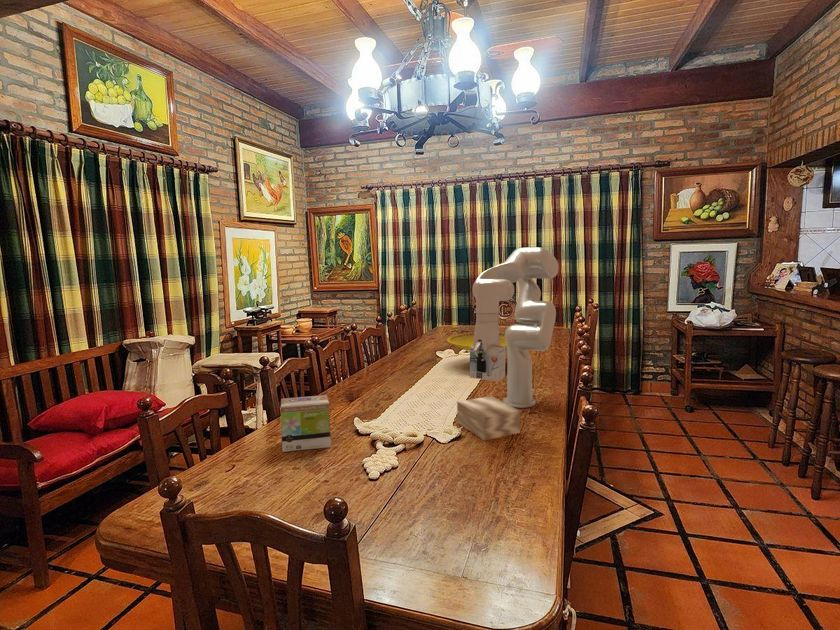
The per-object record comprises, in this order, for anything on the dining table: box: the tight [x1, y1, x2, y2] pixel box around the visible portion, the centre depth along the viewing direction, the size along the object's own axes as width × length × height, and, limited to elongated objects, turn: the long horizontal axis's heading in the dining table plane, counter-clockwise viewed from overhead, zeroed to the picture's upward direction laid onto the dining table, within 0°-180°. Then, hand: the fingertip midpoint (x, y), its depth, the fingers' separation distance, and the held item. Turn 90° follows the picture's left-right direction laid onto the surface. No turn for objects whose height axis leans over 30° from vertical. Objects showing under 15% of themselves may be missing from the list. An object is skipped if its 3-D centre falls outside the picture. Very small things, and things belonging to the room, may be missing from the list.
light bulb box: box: [469, 346, 506, 382], centre depth 160 cm, size 11×7×11 cm, turn 62°
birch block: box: [456, 395, 521, 441], centre depth 163 cm, size 14×18×8 cm
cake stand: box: [445, 332, 507, 352], centre depth 246 cm, size 40×40×15 cm
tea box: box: [280, 394, 332, 453], centre depth 151 cm, size 15×10×15 cm
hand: (487, 369), depth 161 cm, fingers closed on light bulb box, 7 cm apart
